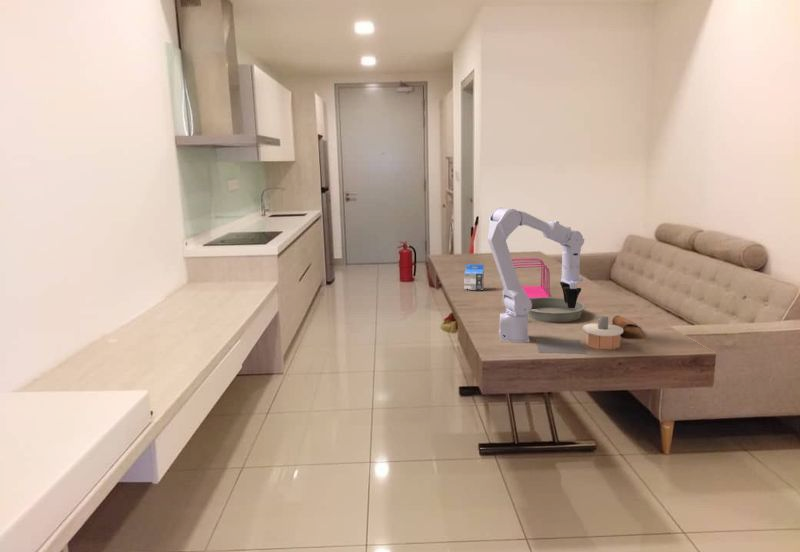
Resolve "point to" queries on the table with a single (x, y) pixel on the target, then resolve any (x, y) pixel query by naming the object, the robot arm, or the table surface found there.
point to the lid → (603, 328)
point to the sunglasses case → (628, 328)
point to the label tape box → (474, 277)
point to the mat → (560, 346)
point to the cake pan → (554, 310)
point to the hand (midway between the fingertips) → (569, 305)
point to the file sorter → (541, 290)
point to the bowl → (603, 341)
